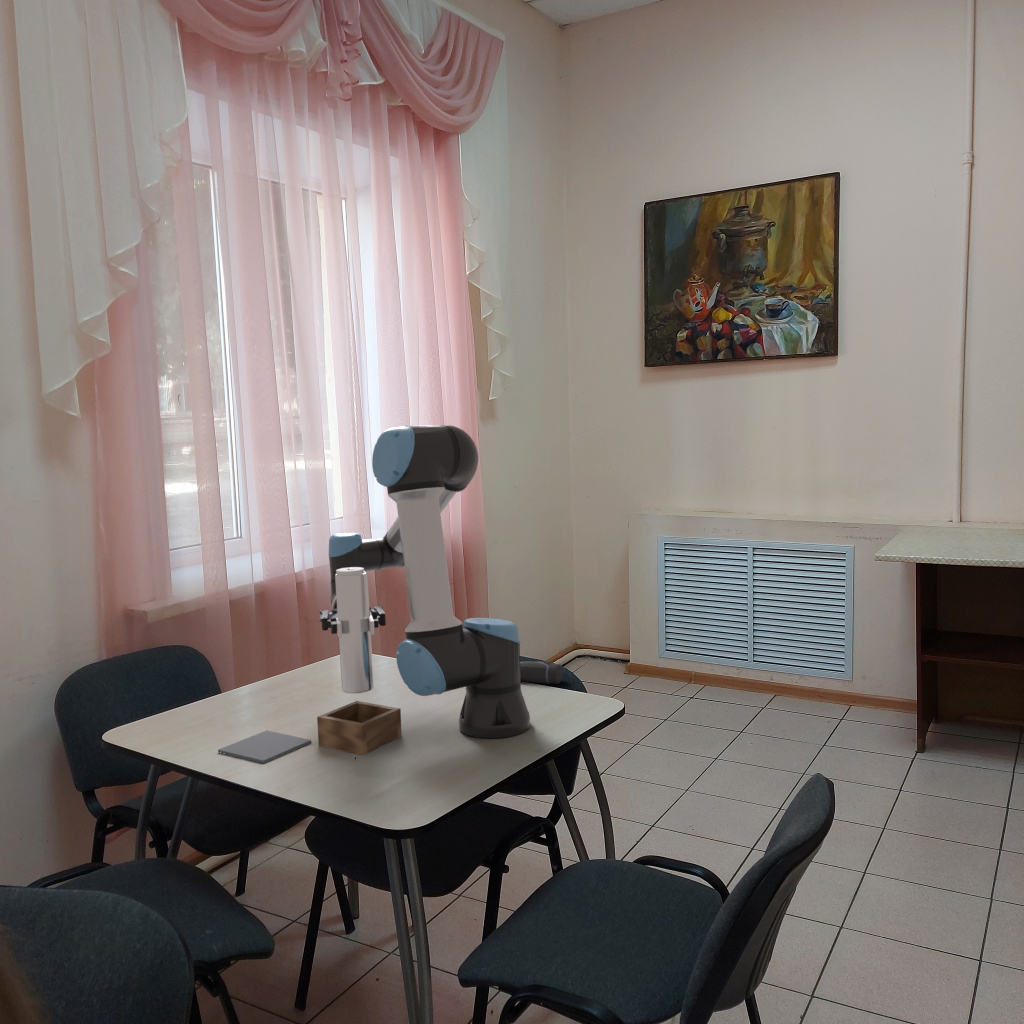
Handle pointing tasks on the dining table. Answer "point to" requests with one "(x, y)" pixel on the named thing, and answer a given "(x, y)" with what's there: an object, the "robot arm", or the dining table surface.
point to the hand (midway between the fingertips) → (356, 629)
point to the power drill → (540, 672)
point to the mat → (264, 746)
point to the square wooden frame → (359, 727)
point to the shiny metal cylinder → (354, 630)
